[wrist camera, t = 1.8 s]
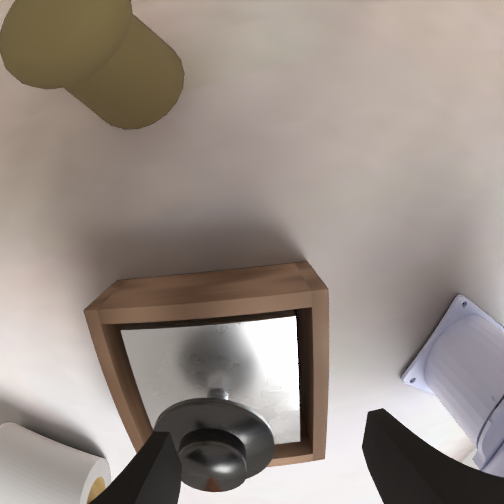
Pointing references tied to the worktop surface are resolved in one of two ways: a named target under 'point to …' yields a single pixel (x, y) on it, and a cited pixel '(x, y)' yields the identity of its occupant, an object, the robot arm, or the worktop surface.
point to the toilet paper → (47, 470)
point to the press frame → (219, 305)
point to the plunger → (219, 391)
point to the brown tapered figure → (93, 57)
